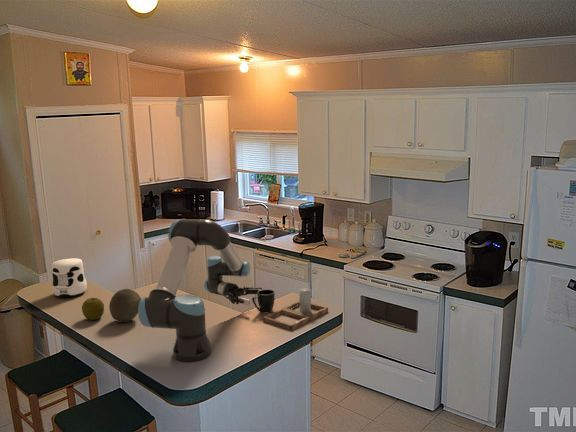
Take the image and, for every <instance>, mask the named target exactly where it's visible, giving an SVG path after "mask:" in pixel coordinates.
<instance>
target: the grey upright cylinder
mask: <svg viewBox="0 0 576 432" xmlns="http://www.w3.org/2000/svg"><path fill="white" fill-rule="evenodd" d="M298 297H299V299H298V301H299V306H298V307H299V312H302V313H305V314H307V313H310V314H311V313H312V308H311V303H312V289H311V288H307V287H305V288H304V287H302V288H299V289H298Z"/></svg>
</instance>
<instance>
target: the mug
mask: <svg viewBox="0 0 576 432" xmlns="http://www.w3.org/2000/svg"><path fill="white" fill-rule="evenodd" d="M275 297H276V296H275V290H273V289H267V288H265V289H262V290H260V291H258V292H257V294H256V296H253V297H252V298H251V301H252V303H253V305H254V306H255V308H256V309H257V311H258V312H260V313H263V312H269V313H271V312H270V311H272V312H273V308H274V306H275V305H274V304H275ZM255 299H257V302H258V303H256V301H255ZM257 304H258V305H257Z"/></svg>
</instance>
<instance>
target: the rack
mask: <svg viewBox="0 0 576 432" xmlns="http://www.w3.org/2000/svg"><path fill="white" fill-rule="evenodd" d="M297 305H299V300H297V301H295V302H293V303H291V304H289V305H287V306H285V307H283V308H280V309H278V310H275V311H272V312H270V313H268V314H267V315H265V316H263V317H262V322H263V323H268V324H270V323H271V325H273V324H274V326H276V325H277V327H279V326H280V328H282V327H283V329H286V330H289V331H294V330H295V329H297V328H299V327H301V326H303V325H305V324H307V323H309V322H311V321H313V320H315V319H316V318H318V317H321V316H323V315H324V314H326V313H328V312H329V307H327V306H322V305H319V304H315V303H312V302H311V307H312V308H311V309H313V308H314V310H316V309H317V311H315V312H314V313H312V314H305V313H302V312H300V311H298V310H295V309H294V308H293V307H295V306H297ZM291 308H293V309H291ZM295 308H296V307H295ZM281 313H284V314H287V315H286V316H288V315H290V316H289V317H291V316H293V317H292V318H294V317H296V318H295V319H298V318H299V319H298V320H296V321H295V322H294V323H292V324H289V323H286V322H284V321H281V320H276V319H274V318H276V317H278V316H280V315H282V314H281ZM279 314H280V315H279ZM284 314H283V315H284ZM277 315H278V316H277ZM275 316H276V317H275ZM273 317H274V318H273ZM271 318H272V319H271Z"/></svg>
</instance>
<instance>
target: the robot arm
mask: <svg viewBox="0 0 576 432" xmlns="http://www.w3.org/2000/svg"><path fill="white" fill-rule="evenodd" d="M167 236H168V241H169V244H170V246H171V248H170V249H169V250H170V251H169V253H168V256H167V258H166V261H165V263H164V266H163V269H162V271H161V273H160V276H159V278H158V281H157V284H156V287H155V288H154V289H151V291H149V294H148V296H145V297H142V298H141V300H140V303H139V307H138V314H137V315H138V319H139V320H138V321H139V322H140V324H141V325H142V326H144V327H146V328H151V329H154V328H155V329H171V330H173V329H174V330H175V333H176V334H175V335H176V337H175V342H174V345H173V349H172V356H173V358H174V359H175V360H177V361H180V362H186V363H191V362H192V363H193V362H198V361H202V360H204V359H206V358H208V357H209V356H210V355H211V354H212V345H211V342H210V340H209V337H208V335H207V329H206V328H207V327H206V326H207V325H206V313H205V312H206V309H205V303H204V300H203V298H201V297H200V296H197V295H196V294H195V295H194V294H187V293H186V294H180V295H177V292H178V288H179V286H180V284H181V281H182V278H183V275H184V273H185V270H186V268H187V267H186V266H187V265H188V262H189V259H190V255H191V254H192V253H194V252H196V249H197V246H208V247H211V248H212V249H214V250H215V251H217V253H218V254H219V256H218V255H211V256H209V257H208V258H207V261H206V263H207V264H206V268H207V278H206V279H205V281H204V284H203V288H204V290H205V291H206V292H208V293H210V294H215V295H219V296H221V297H224V298H226V299H227V300H228V301H230V303H231V304H233V305H234V304H236V305H239V304H241V305H245V306H247V307H248V306H250V305H251V300H250V299H248V298H246V297H245V298H244V297H242V296H247V295H257V292H258V291H260V290H263V287H260V286H259V287H258V286H245V285H244V286H243V287H239V286H238V284H236V283H233V282H229V281H225V280H223V279H224V278H223V277H225V276H227V277H248V276H249V275H250V272H251V271H250V270H251V265H250V263H249V262H248V261H243V260H242V259H241V257H240V256H239V253H238V252H237V250H236V249H235V247H234V245H233V244H232V242H231V236H230V234H229V233H228V231H227V230H226V229H225V228H224V227H223V226H222V225H220V224H218V223H217V222H215V221H213V220H209V219H189V218H182V219H179V218H178V219H175V220H173V222H172V223H171V225H170V226H169V228H168V235H167ZM176 295H177V296H176Z"/></svg>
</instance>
